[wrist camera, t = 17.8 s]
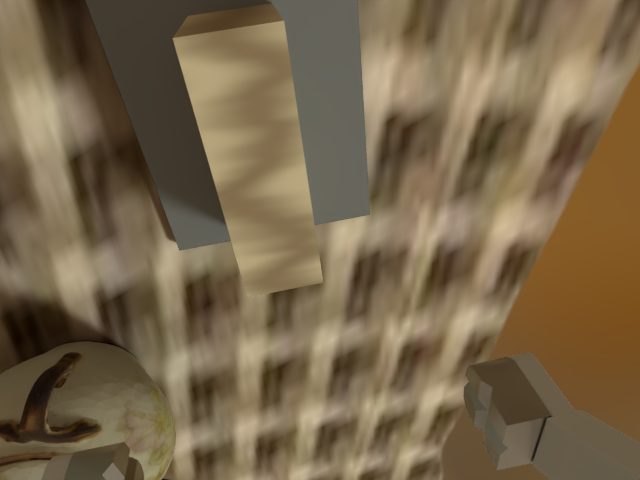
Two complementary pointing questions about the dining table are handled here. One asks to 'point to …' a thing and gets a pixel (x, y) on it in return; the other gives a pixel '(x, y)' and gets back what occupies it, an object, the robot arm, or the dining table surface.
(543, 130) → the dining table surface
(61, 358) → the sugar bowl
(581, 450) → the robot arm
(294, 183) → the pine block
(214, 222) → the grey mat
